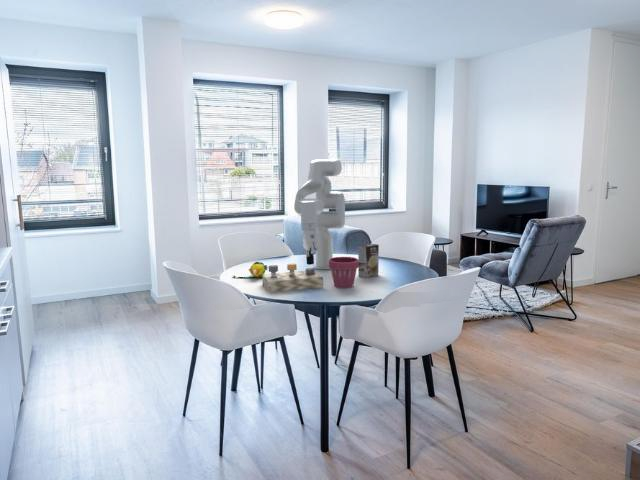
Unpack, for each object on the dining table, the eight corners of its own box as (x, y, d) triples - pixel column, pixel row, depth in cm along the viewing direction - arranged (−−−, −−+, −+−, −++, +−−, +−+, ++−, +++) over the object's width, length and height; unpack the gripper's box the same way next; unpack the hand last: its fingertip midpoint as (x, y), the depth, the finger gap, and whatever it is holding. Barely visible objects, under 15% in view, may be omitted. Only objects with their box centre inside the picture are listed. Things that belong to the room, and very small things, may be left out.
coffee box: (367, 278, 242) (367, 246, 239) (358, 276, 246) (357, 245, 244) (379, 275, 248) (378, 244, 246) (369, 273, 252) (369, 243, 250)
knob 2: (313, 279, 234) (313, 267, 233) (316, 281, 230) (315, 269, 229) (304, 280, 233) (304, 268, 232) (307, 282, 229) (306, 270, 228)
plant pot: (363, 287, 223) (363, 260, 221) (334, 290, 219) (334, 263, 217) (352, 281, 236) (352, 255, 234) (325, 283, 232) (324, 257, 230)
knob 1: (277, 276, 229) (276, 264, 228) (279, 278, 224) (278, 266, 224) (268, 277, 227) (267, 265, 226) (270, 279, 223) (269, 267, 222)
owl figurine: (227, 264, 243) (235, 259, 258) (227, 281, 244) (236, 275, 259) (281, 264, 240) (286, 259, 255) (281, 281, 241) (287, 275, 256)
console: (313, 279, 241) (313, 270, 240) (323, 287, 225) (323, 276, 225) (262, 284, 233) (262, 274, 232) (269, 292, 218) (268, 281, 217)
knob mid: (295, 275, 231) (295, 263, 230) (297, 277, 227) (297, 265, 226) (286, 275, 230) (286, 264, 229) (288, 277, 226) (288, 265, 225)
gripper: (321, 228, 222) (322, 266, 225) (312, 224, 236) (313, 260, 239) (305, 229, 220) (307, 268, 223) (297, 225, 234) (298, 261, 237)
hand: (310, 264), depth 231 cm, fingers closed
